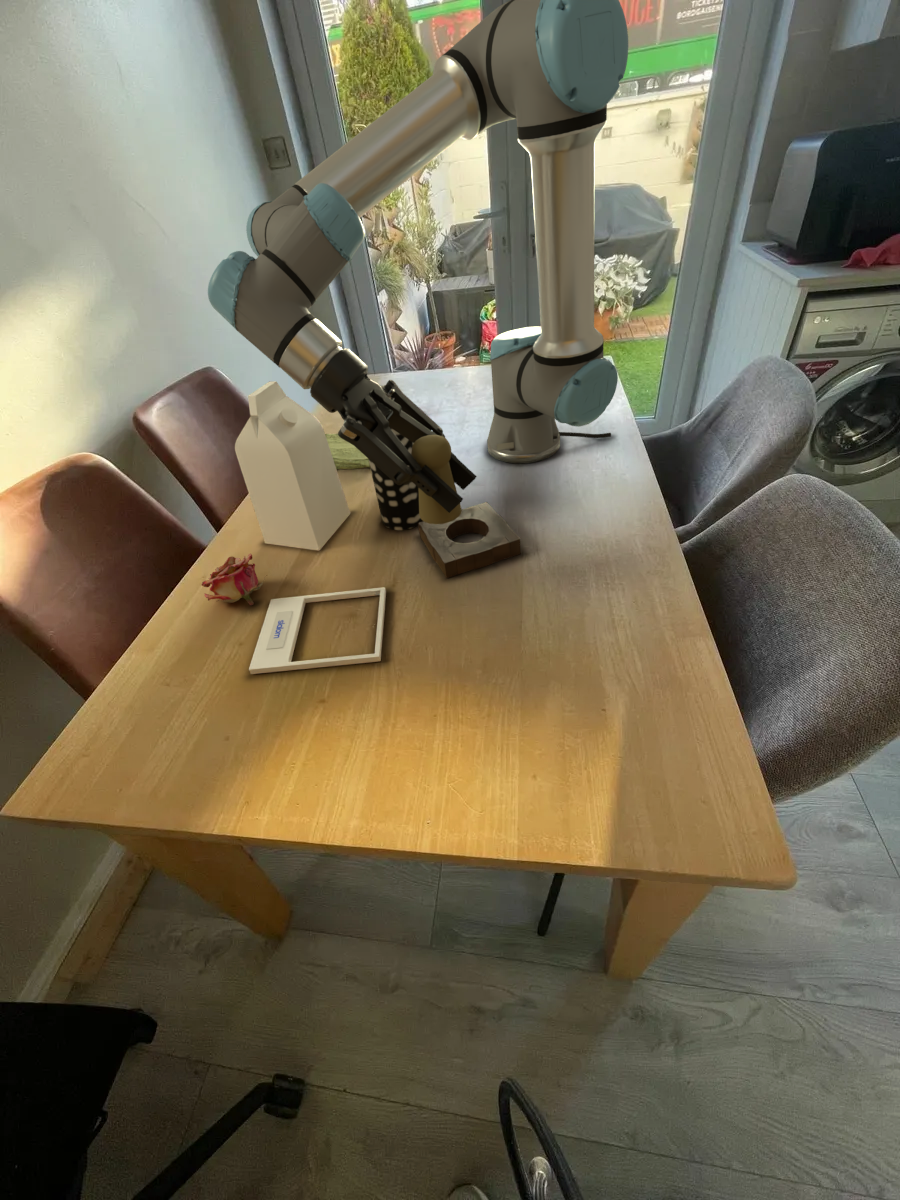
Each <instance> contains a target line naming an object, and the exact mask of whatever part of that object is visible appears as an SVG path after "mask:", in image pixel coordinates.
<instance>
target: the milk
mask: <svg viewBox="0 0 900 1200" xmlns="http://www.w3.org/2000/svg"><path fill="white" fill-rule="evenodd" d="M247 399H248V407H249V409H248V410H249V418H248V419H247V421H246V423H245V424H244V426H243V428H242V429H241V431H240V432H239V435H238V436H237V438H236V440H235V443H234V451H235V455H236V459H237V461H238V465H239V468H240V471H241V474H242V477H243V480H244V483H245V486H246V489H247V492H248V495H249V499H250V502H251V504H252V508H253V511H254V514H255V517H256V520H257V524H258V527H259V529H260V532H261V535H262V539H263V541H264V544H268V545H276V546H282V547H290V548H296V549H304V550H311V551H318V552H320V551H321V550H322V548H323V547H324V546H325V545H326V544H327V542H328V541H329V540H330V539H331V538H332V536H333V535H334V534H335V533H336V532H337V531H338V529H339V528H340V527H341V526H342V524H343V523H344V522H345V521H346V520H347V519H348V517H349V516H350V515H351V509H350V507H349V504H348V501H347V498H346V494H345V491H344V489H343V485H342V482H341V480H340V476H339V472H338V469H336V466H335V463H334V460H333V457H332V454H331V451H330V448H329V445H328V442H327V439H326V435H325V434H326V433H325V429H324V426H323V424H322V422H321V421H320V419H318V417H316V416H315V415H314V414H313V413H311V412H310V411H309V410H307V409H306V408H304V407H303V406H302V405H301V404H299V403H297V402H296V401H295V400H294V399H292V398H290V396H287V394H286V393H285V392H284V390H283V388H282V387H281V386H280V384H279V383H278V382H277V381H275V380H274V381H272V380H271V381H270V380H269V381H268V382H266V383H265V384H263V385H262V386H260V387H259V388H257V389H255V390H254V391H253V392H251V393H250V394H249V395H247Z"/></svg>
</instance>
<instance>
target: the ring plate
mask: <svg viewBox="0 0 900 1200" xmlns="http://www.w3.org/2000/svg"><path fill="white" fill-rule="evenodd" d="M461 509H462V510H461V514H460V515H459V517H457V518H456V519H455V520H453V521H451V522H448V523H444V524H429V523H426V522H424V521H422V522H419V523H418V526H417V527H418V532H419V537H420V539H421V541H422V542H423V544H424V545H425V547H426V548H427V550H428V553H429V555H430V556H431V558H432V559H433V561H434V562H435V563H436V564H437V566H438V567H439V569H440V571H441V572H442V573H443V575H444V577H445V578H446V579H449V578H452V577H455V576H458V575H460V574H464V573H467V572H470V571H474V570H479V569H481V568H485V567H488V566H490V565H493V564H495V563H498V562H500V561H503V560H507V559H509V558H513V557H516V556H519V555H521V554H522V553H521V552H522V551H521V550H522V549H521V538H520V537H519V536H518V535H517V533H516V532H515V531H514V530H513V529H512V528H511V527H510V526H509V525H508V522H507V521H506V520H505V519H504V517H503V516H502V515H500V514H499V513H498V512H497V511H496V509H494V508H493V507H492V506H491V505H490V504H489V503H488V501H485V502H482V503H479V504H475V505H471V506H468V507H465V508H461ZM465 534H477V535H481V536H483V537H482V538H480V539H479V540H475V541H472V542H464V543H462V542H457V541H453V539H455V538H457V537H459V536H462V535H465Z"/></svg>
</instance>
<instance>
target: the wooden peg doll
mask: <svg viewBox="0 0 900 1200" xmlns="http://www.w3.org/2000/svg"><path fill="white" fill-rule="evenodd" d="M451 452H452V446H451V444H450V442H449V440H448V439H447V438H446V436H445V437H443V436H439V435H427V436H423V437H421V438H419V439H418V440H416V441H415V442H414V444H413V446H412V452H411V454H412V456H413V457H414V459H415V460H416V461H417V462H418V464H419V465H420V466H421V469H422V468H423V467H424V466H425V465H427V466H428V467H429V468H430V469H431V470H432V471H433V472H434V473H435V474H437V475H438V476H439V477H440V478H441V479H442V480H443V481H444V482H445V483H446V484H447V485H449V486H450V487H451V488H452V489H453V490H454V491H455V492H456V493H457V494H458V491H457V487H456V483H455V482H454V480H453V476H452V472H451V469H450V465H449V460H450V458H451ZM462 509H463V508H462V505H461V503H459V504H458V505H457V506H456V507H455V508H454V509H453V510H452V511H451V512H450V513H449V512H448V511H446V510H445V509H444V508H443V507H442V506H441V505H440V504H439V503H438V502H436V501H435V500H434V499H433V498H432V497H430V496H428V495H426V494H425V493H424V492H423V491H422V490H421V489H420V488H419V516H420V518H421V519H422V520H423V521H424V522H426V523H429V524H444V523H448V522H451V521H453V520H455V519H456V518H457V517H459V515H460V514H461V510H462Z"/></svg>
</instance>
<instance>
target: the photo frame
mask: <svg viewBox="0 0 900 1200" xmlns="http://www.w3.org/2000/svg"><path fill="white" fill-rule="evenodd" d="M375 596H379V600H378V601H379V602H378V611H377V622H376V623H377V624H376V635H375V645H374V653H367V654H365V653H364V654H357V655H347V656H336V657H326V658H316V659H307V660H295V661H292V660H293V657H294V656H293V655H294V650H295V648H296V644H297V639H298V635H299V631H300V628H301V623H302V619H303V615H304V611H305V607H306V604H309V603H316V602H317V603H319V602H326V601H335V600H346V599H354V598H363V597H375ZM386 596H387V589H386V586H384V587H374V588H363V589H354V590H346V591H337V592H335V591H334V592H325V593H317V594H308V595H307V594H306V595H297V596H289V597H287V596H286V597H280V598H279V597H278V598H271V599H270V601H269V605H268V608H267V611H266V614H265V617H264V620H263V623H262V625H261V630H260V633H259V635H258V639H257V642H256V645H255V648H254V652H253V655H252V658H251V661H250V664H249V667H248V671H249V673H250V675H256V674H265V673H266V674H267V673H277V672H286V671H297V670H305V669H316V668H326V667H335V666H337V667H338V666H347V665H355V664H356V665H357V664H365V663H366V664H367V663H375V662H381V659H382V647H383V637H384V636H383V635H384V622H385V611H386V599H387V597H386Z"/></svg>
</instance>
